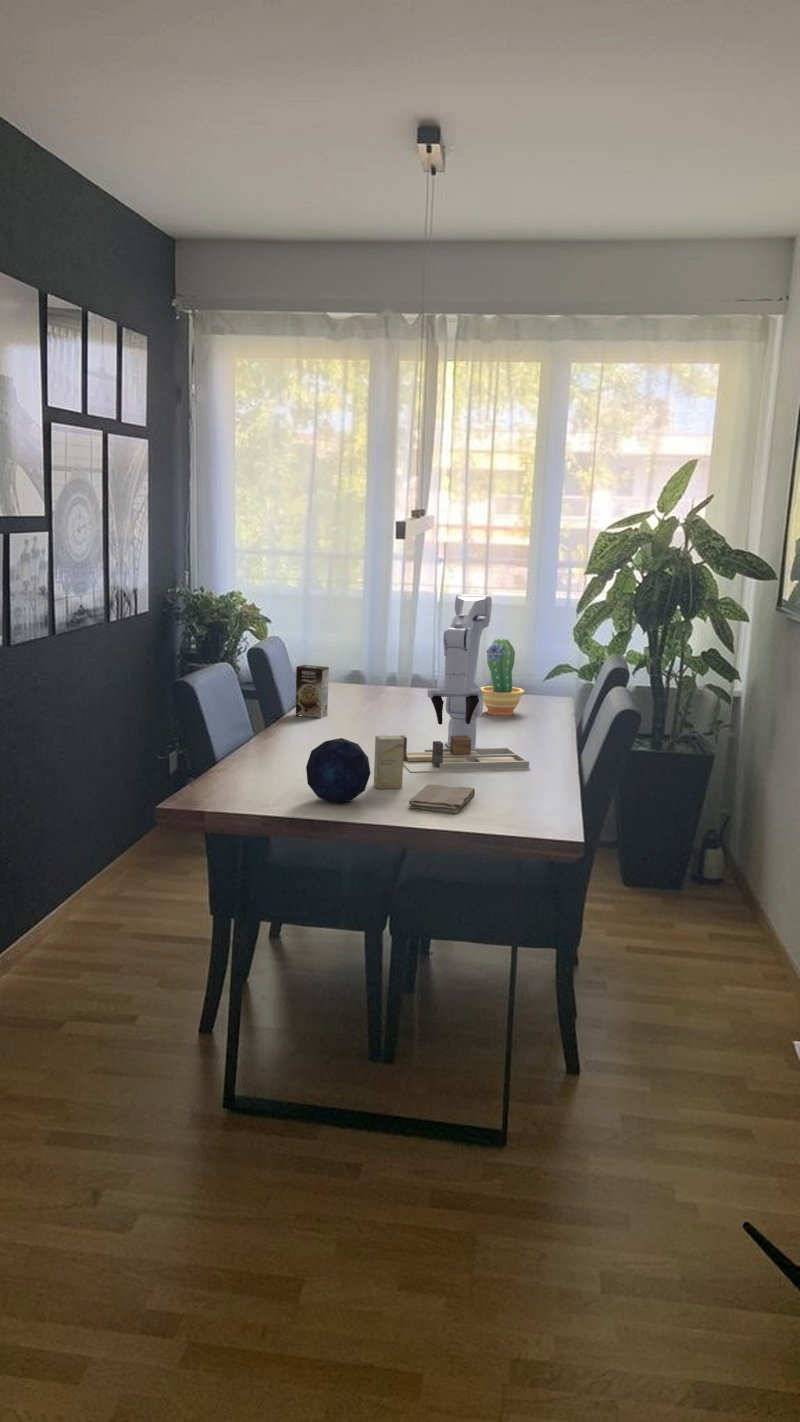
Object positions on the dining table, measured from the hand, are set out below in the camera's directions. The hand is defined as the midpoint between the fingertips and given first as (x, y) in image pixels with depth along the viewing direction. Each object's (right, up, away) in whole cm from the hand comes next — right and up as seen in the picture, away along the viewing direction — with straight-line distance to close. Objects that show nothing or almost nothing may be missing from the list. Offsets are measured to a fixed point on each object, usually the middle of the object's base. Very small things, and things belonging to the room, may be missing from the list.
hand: (453, 723), depth 277 cm
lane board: (+2, -10, -2) cm, 11 cm away
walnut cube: (+2, -8, +2) cm, 9 cm away
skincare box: (-17, -15, -28) cm, 36 cm away
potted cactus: (+20, +3, +73) cm, 75 cm away
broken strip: (+5, -11, -5) cm, 13 cm away
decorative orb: (-28, -17, -42) cm, 53 cm away
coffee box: (-43, +2, +59) cm, 73 cm away
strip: (-4, -9, +1) cm, 10 cm away
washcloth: (-5, -18, -41) cm, 45 cm away
